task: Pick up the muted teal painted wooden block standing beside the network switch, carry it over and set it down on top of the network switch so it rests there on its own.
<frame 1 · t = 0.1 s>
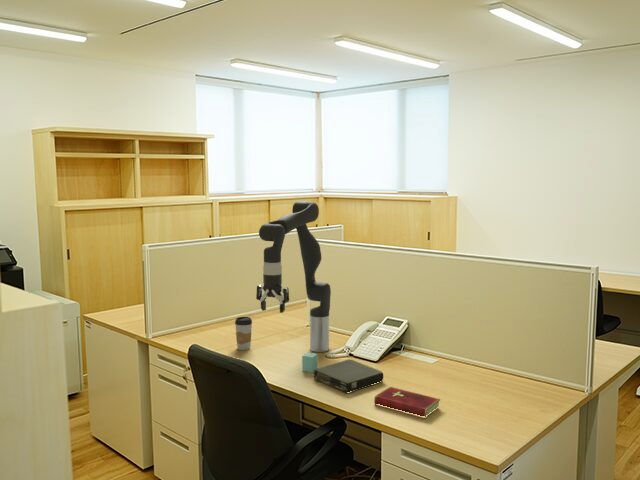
hand: (272, 311, 238), 29 cm above the table, fingers open, 8 cm apart
coffee cup: (243, 348, 283), on the table
teal block: (310, 370, 253), on the table
hardcover book: (406, 408, 214), on the table
network switch: (348, 381, 241), on the table
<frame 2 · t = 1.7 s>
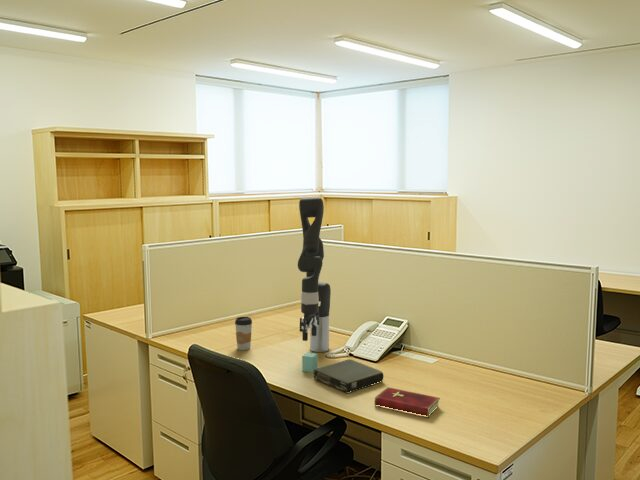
hand: (309, 338, 251), 14 cm above the table, fingers open, 8 cm apart
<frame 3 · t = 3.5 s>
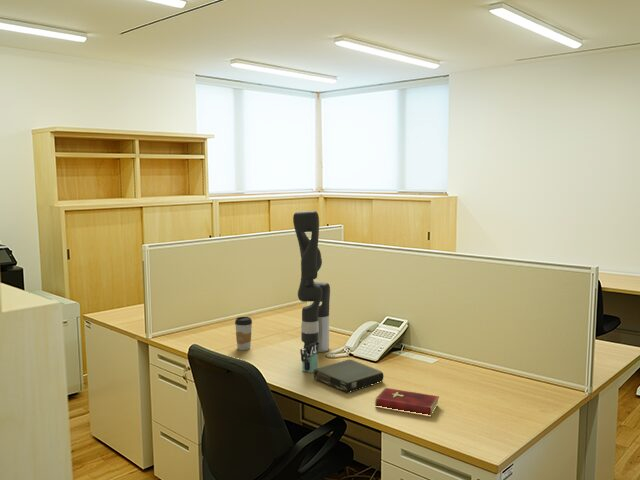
hand: (309, 367, 253), 1 cm above the table, fingers closed on teal block, 5 cm apart
teal block: (309, 370, 253), on the table, touching gripper
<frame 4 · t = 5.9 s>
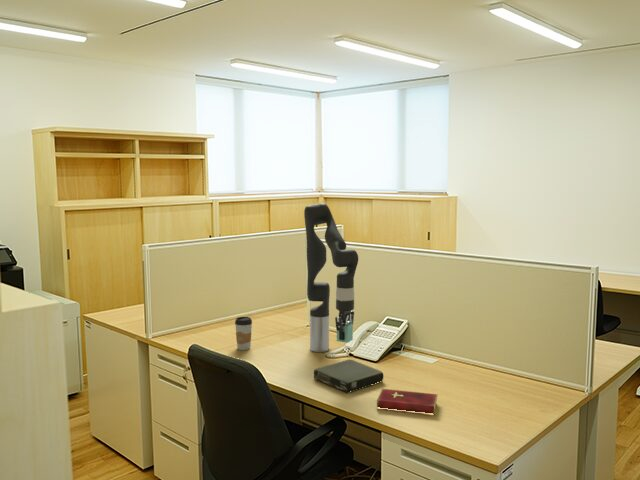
hand: (344, 338, 238), 18 cm above the table, fingers closed on teal block, 5 cm apart
teal block: (344, 340, 239), point 17 cm above the table, touching gripper
when the fingers open (7 cm above the table, at t = 8.5 s): teal block drops 2 cm, resting on network switch.
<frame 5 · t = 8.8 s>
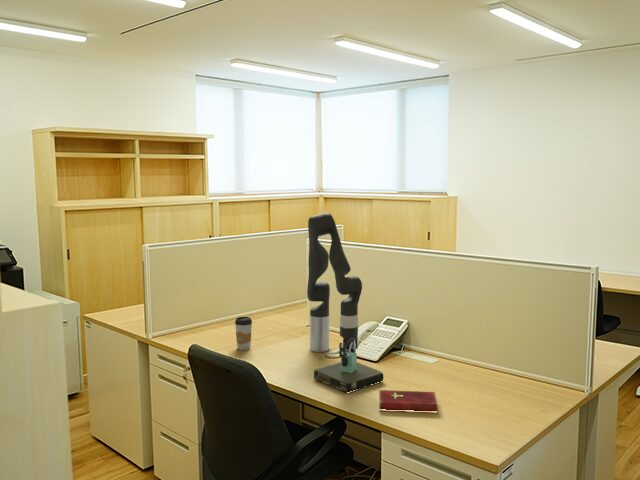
hand: (348, 363, 240), 7 cm above the table, fingers open, 7 cm apart
teal block: (348, 370, 240), point 4 cm above the table, touching network switch
network switch: (348, 382, 241), on the table, touching teal block
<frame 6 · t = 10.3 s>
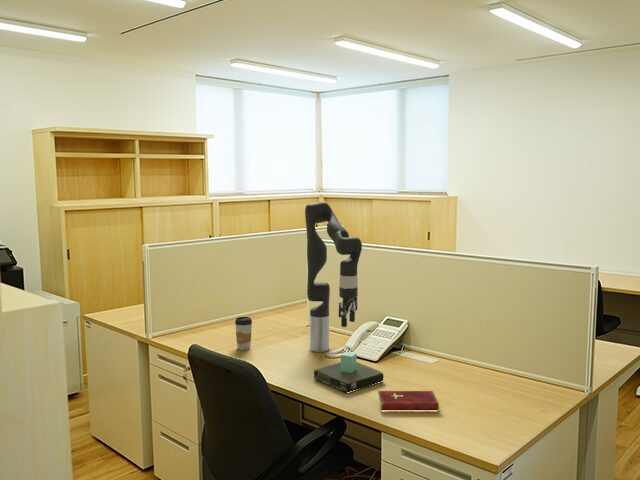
hand: (348, 324, 238), 24 cm above the table, fingers open, 8 cm apart
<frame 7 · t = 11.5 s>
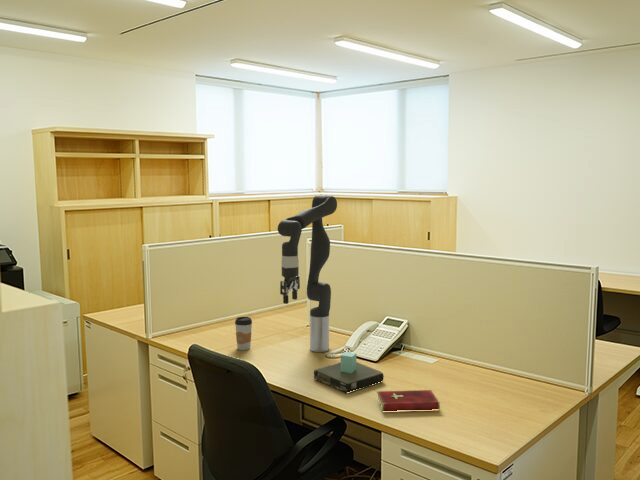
hand: (290, 301, 257), 29 cm above the table, fingers open, 8 cm apart
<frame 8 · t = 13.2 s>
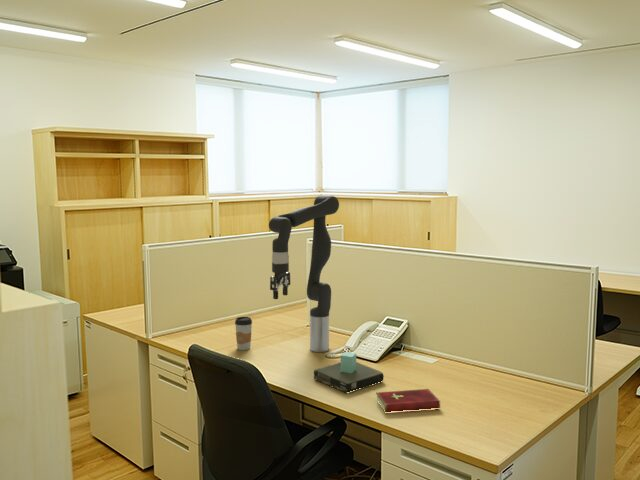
hand: (280, 297, 260), 30 cm above the table, fingers open, 8 cm apart
at the end: teal block inside the target area on the network switch (0.3 cm from its centre), point 5.2 cm above the network switch's base; teal block tilted 0°; teal block touching network switch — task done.
